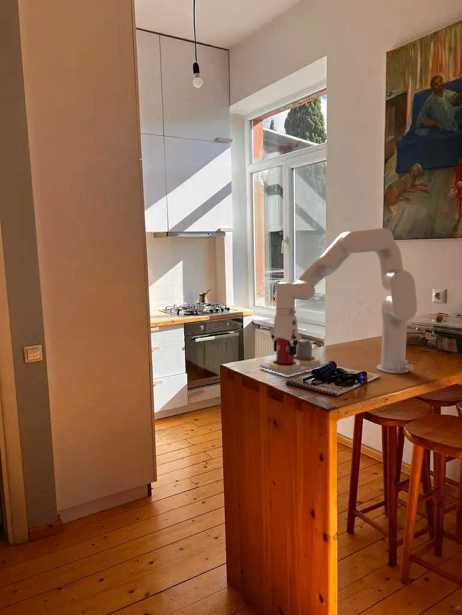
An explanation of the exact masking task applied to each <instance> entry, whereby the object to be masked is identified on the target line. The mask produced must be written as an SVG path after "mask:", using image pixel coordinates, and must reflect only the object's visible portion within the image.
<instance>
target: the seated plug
mask: <svg viewBox="0 0 462 615" xmlns="http://www.w3.org/2000/svg"><path fill="white" fill-rule="evenodd" d="M312 351H313V345H312V344H311V340H308V339H303V340H302V339H301V340H300V342H299V343H298V345H296V360H299V361H311V360H312V355H313V352H312Z"/></svg>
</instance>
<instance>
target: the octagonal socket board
mask: <svg viewBox="0 0 462 615" xmlns="http://www.w3.org/2000/svg"><path fill="white" fill-rule="evenodd" d="M327 363H328V364H329V361H328V362H327V361H324V360H320V358H319V357H318V356H316V355H313V354H312V360H311V361H299V360H296V355H294V365H291V366H281V365H277V364H276V358H274V359H271V360H269V362H266V363H262V364H259V368H260V367H262V368H265V369H269V370H272V371H275V372H278V373H282V374H285V375H291V374H294V373H298V372H303V371H306V370H310V369H314V368H317V367H320V366H322V365H324V364H327Z"/></svg>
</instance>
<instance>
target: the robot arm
mask: <svg viewBox="0 0 462 615" xmlns="http://www.w3.org/2000/svg"><path fill="white" fill-rule="evenodd" d="M368 252H369V253H371V252H375V253H376V255H377V256H378V259H379V260H378V261H379V266H380V267H379V268H380V273H381V274H380V278H381V285H382V287H383V288H384V289H385V290H386V291H388V292H390V295H387V296H386V297H385V298H384V299H383V301H382V304H381V318H382V330H381V331H382V332H381V350H380V351H381V354H380V355H381V356H380V357H381V358H380V363H378V364H377V365H376V369H377V370H378V371H380V372H383V373H389V374H404V373H408V372H409V371H413V370H414V364H410V363H408V360H407V359H406V349H407V347H406V346H407V333H408V330H407V329H408V328H407V327H408V325H407V324H408V323H407V322H409V321H411V320H412V319H413V318H414V317H415V316H416V314H417V311H418V302H417V301H418V300H417V290H416V284H415V279H414V276H413V275H412V274H411V273H410V272H409V271H408V270H404V266H403V259H402V252H401V249H400V247H399V245H398V244H397V242H395V239H394V234H393V233H392V231H391V230H390V229H387V228H384V227H383V228H382V227H379V228H370V229H365V230H348V231H344V232H341V234H339V236H337V238H336V239H334V241H333V242H332V243H331V244H330V245H329V247H328V248H327V249H326V250H325V251H324V252H323V253H322V254H321V256H319V257H318V258H317V259H316V260H315V261H314V262H313V263H312V264H311V265H310V266H309V267H308V268H306V269H305V271H304V272H302V274H301V275H300V277H299V278H298V279H297V280H296V281H295V282H293V281H280V282H279V281H278V282H277V284H276V286H275V287H276V288H275V289H276V290H275V291H276V293H275V294H276V295H275V298H276V299H275V300H276V302H275V307H276V308H275V309H276V310H275V316H274V320H273V328H272V329H270V330H269V333H270V337H271V339H272V342H273V352H276V351H277V338H278V337H279V338H284V339H285V340H289V342H290V344H291V346H290V356H293V355H296V345H298V343H299V342H300V341H302V338H303V337H302V335H301V334H299V329H298V328H299V327H298V319H297V316H296V315H295V314H296V312H297V311H296V310H295V309H296V307H295V304H296V303H295V302H296V301H295V300H298V301H309V300H312V299H313V298H314V296H315V294H316V288H315V286H317V285H318V283H320V282H321V281H322V280H323V279H325V278H326V277H328V276H331V275H332V274H335V272H337V270H338V269H339V268H340V267H341V266H342V265H343V263H345V261H346V260H347V259H348V258H349V257H350V256H351V255H352V254H359V253H368ZM292 340H293V341H292Z"/></svg>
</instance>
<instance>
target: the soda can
mask: <svg viewBox="0 0 462 615" xmlns="http://www.w3.org/2000/svg"><path fill="white" fill-rule="evenodd" d="M292 341H293V340H292ZM290 346H291V344H290V342H289V340H285V339H284V338H279V337H278V338H277V351H276V355H275V356H276V358H275V359H276V364H277V365H281V366H291V365H294V355H293V356H290Z"/></svg>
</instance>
